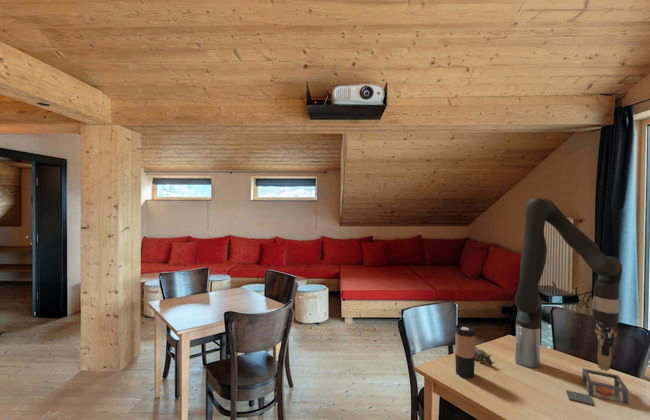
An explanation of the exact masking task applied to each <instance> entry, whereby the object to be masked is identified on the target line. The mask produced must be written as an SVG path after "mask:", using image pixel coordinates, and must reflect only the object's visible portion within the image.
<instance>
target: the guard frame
mask: <svg viewBox="0 0 650 420" xmlns="http://www.w3.org/2000/svg"><path fill="white" fill-rule="evenodd" d="M589 374H592V375H597V376H602V377H606V378H611V379H614V380H613V383H614V384H613V385H612V384H607V383H602V382H599V381H598V382H597V381H593V380H592V378H591V377H590V375H589ZM581 379H582V383H583V385H584V388H585V390H586V392H587V395H590V397H593V398H598V399H603V400H607V401H610V402H611V401H612V402H616V403H619V404H623V405H629V389H628V387H627V386H626V384H625V383H624V381H623V380H622V378H621V376H619V375H618V374H613V373H609V372H602V371H599V370H593V369H588V368H582V377H581ZM595 386H599V387H604V388H608V389H613V394H611V395H608V394H604V393H601V392H599V391H597V390H596V389H595Z"/></svg>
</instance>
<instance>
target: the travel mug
mask: <svg viewBox="0 0 650 420" xmlns="http://www.w3.org/2000/svg"><path fill="white" fill-rule="evenodd" d="M475 337H476V329H475V328H474V326H472V325H469V324H467V325H462V324H460V323H459V324H456V326H455V345H454V346H455V347H454V348H455V349H454V350H455V351H454V355H455V357H454V358H455V360H454V361H455V374H456V375H457V376H458V375H459V376H458V377H459V378H460V377H461V378H462V377H463V378H462V379H467V378H470V379H473V378H474V377H475V367H476V366H475V365H476V364H475V362H476V357H475V347H476V338H475ZM472 377H473V378H472Z"/></svg>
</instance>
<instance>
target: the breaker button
mask: <svg viewBox="0 0 650 420" xmlns="http://www.w3.org/2000/svg"><path fill="white" fill-rule="evenodd" d="M595 389H596V390H597V391H599V392H601V393H604V394H608V395H611V394H613V389H608V388H604V387H599V386H595Z"/></svg>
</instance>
